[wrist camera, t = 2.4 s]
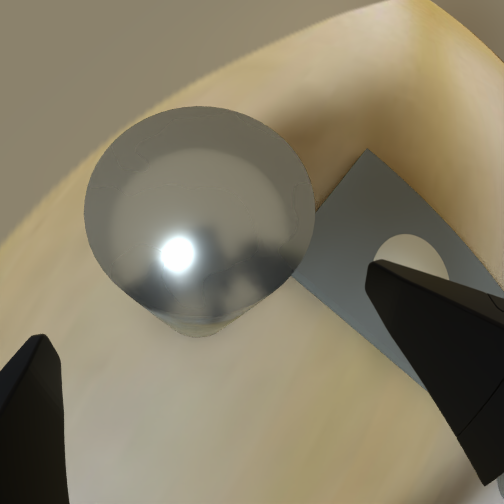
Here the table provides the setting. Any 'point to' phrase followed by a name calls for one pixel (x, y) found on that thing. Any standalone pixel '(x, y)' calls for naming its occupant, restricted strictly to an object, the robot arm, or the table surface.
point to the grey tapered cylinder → (501, 484)
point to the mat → (381, 248)
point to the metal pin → (199, 215)
